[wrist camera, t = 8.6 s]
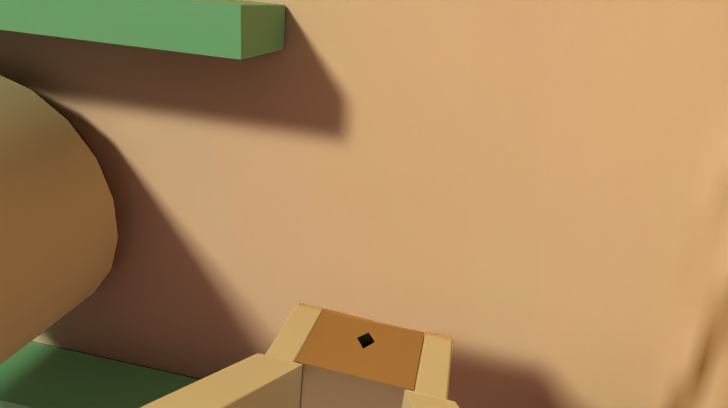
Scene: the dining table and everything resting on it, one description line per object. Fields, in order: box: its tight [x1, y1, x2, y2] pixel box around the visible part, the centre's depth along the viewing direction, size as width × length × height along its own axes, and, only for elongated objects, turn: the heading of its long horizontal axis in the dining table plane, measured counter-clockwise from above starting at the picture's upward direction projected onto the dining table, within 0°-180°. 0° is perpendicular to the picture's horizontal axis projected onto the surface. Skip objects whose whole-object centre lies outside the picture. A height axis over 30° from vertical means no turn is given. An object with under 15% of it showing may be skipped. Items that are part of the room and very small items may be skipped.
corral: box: [0, 0, 285, 408], centre depth 14 cm, size 13×13×2 cm
